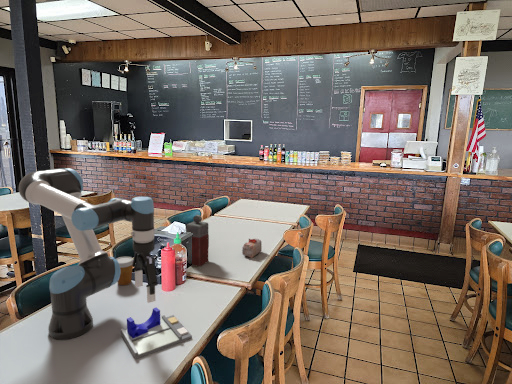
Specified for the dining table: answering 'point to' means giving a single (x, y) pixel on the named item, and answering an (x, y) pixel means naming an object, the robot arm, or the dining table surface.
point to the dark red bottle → (199, 240)
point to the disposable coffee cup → (125, 270)
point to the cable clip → (143, 324)
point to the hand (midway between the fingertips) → (144, 293)
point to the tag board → (157, 337)
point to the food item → (252, 248)
